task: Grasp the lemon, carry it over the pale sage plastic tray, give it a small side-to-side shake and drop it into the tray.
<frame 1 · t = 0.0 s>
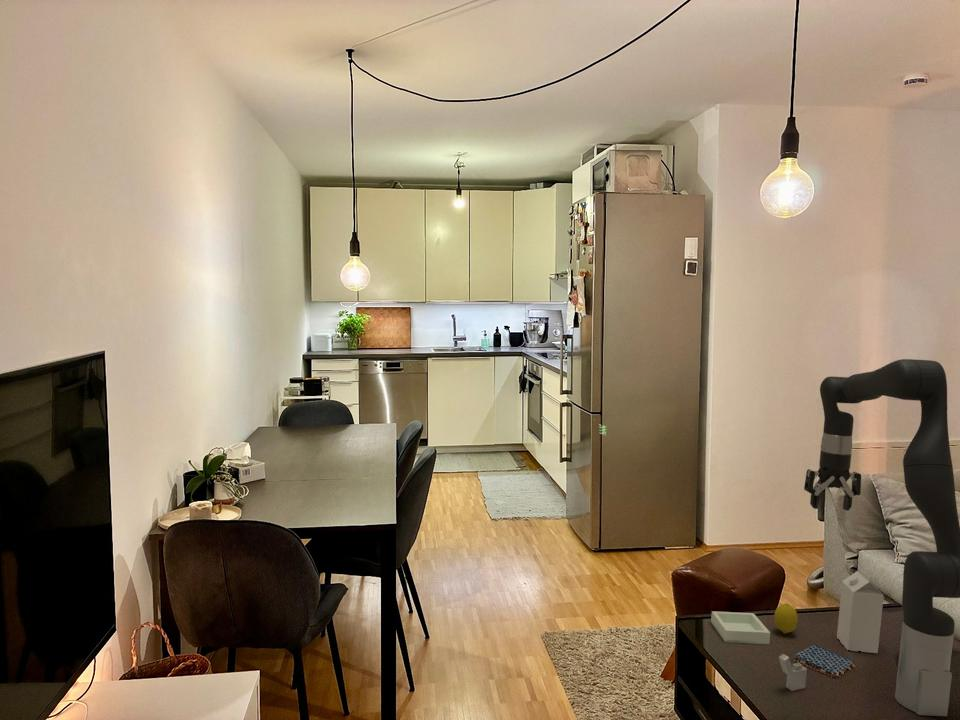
hand: (830, 508, 198), 29 cm above the table, fingers open, 8 cm apart
woven mat: (823, 666, 172), on the table
tray: (739, 633, 185), on the table
lighter: (790, 689, 160), on the table
milk carton: (856, 646, 182), on the table
lemon: (784, 634, 187), on the table
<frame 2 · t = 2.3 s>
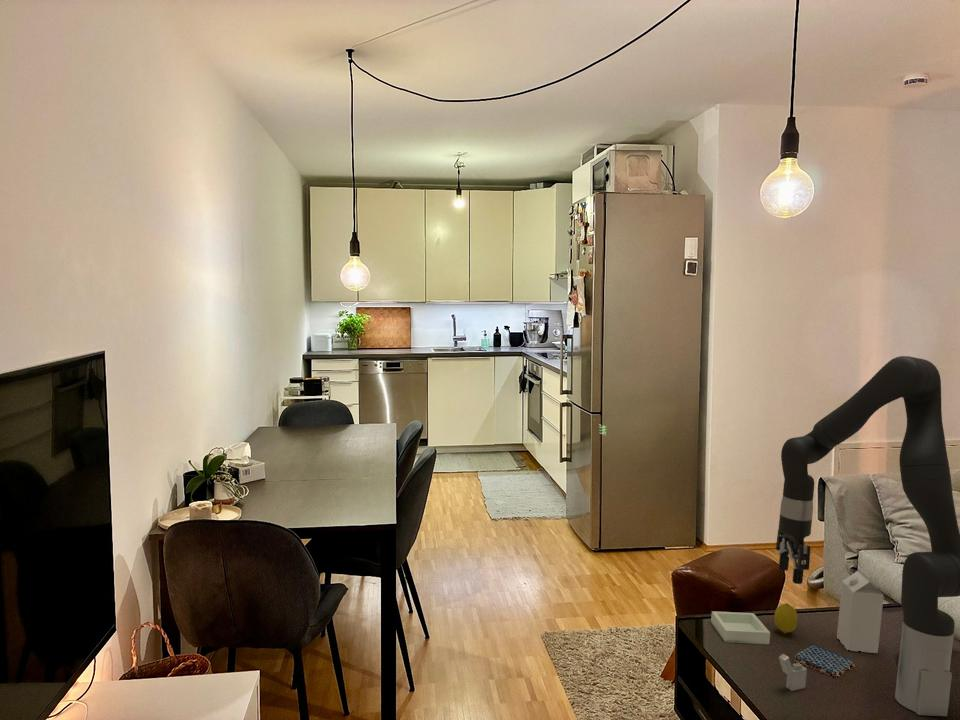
hand: (789, 576, 185), 15 cm above the table, fingers open, 8 cm apart
nothing on the table moved.
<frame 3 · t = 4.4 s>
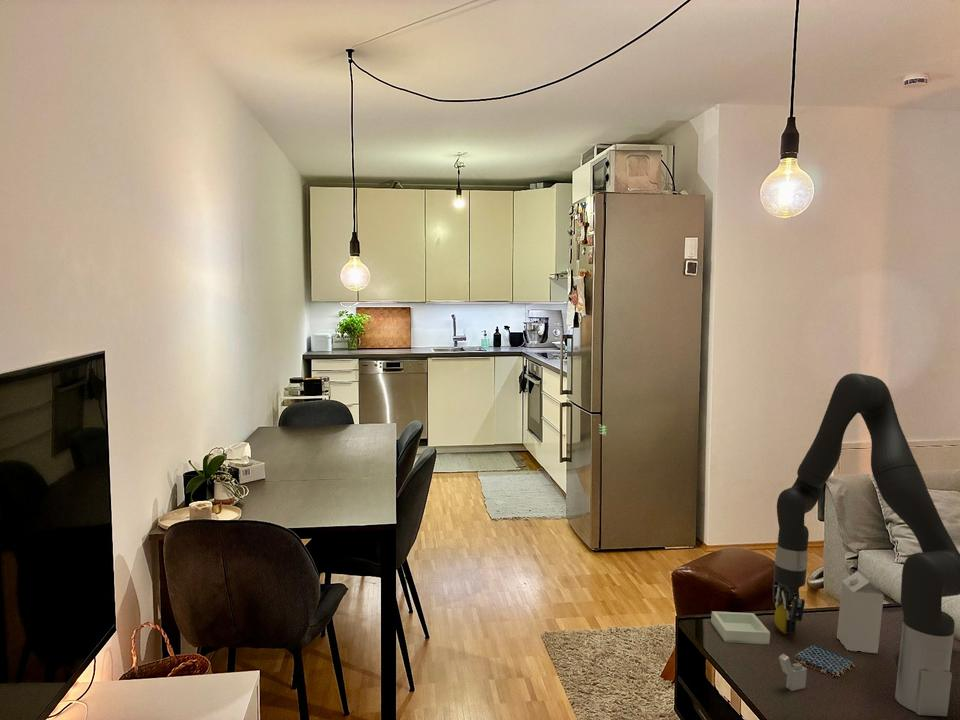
hand: (784, 627, 186), 2 cm above the table, fingers closed on lemon, 5 cm apart
lemon: (784, 634, 187), on the table, touching gripper
everything else where it was.
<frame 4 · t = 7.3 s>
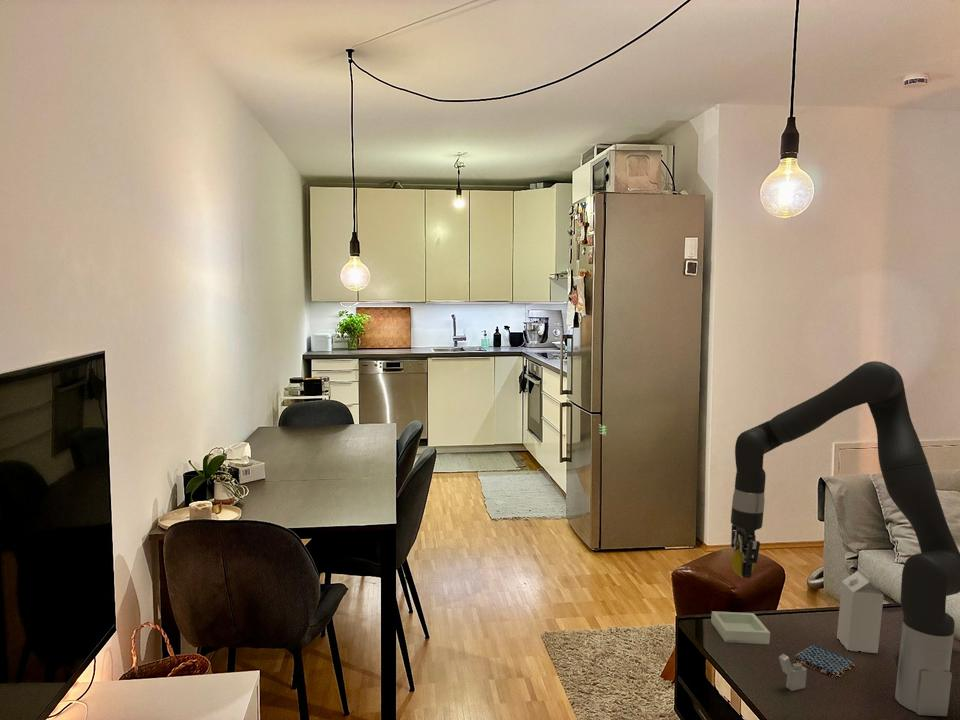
hand: (741, 571, 185), 16 cm above the table, fingers closed on lemon, 5 cm apart
lemon: (741, 578, 185), point 14 cm above the table, touching gripper
everything else where it was.
when the fingers open (4 cm above the table, at t = 10.5 s): lemon drops 2 cm, resting on tray.
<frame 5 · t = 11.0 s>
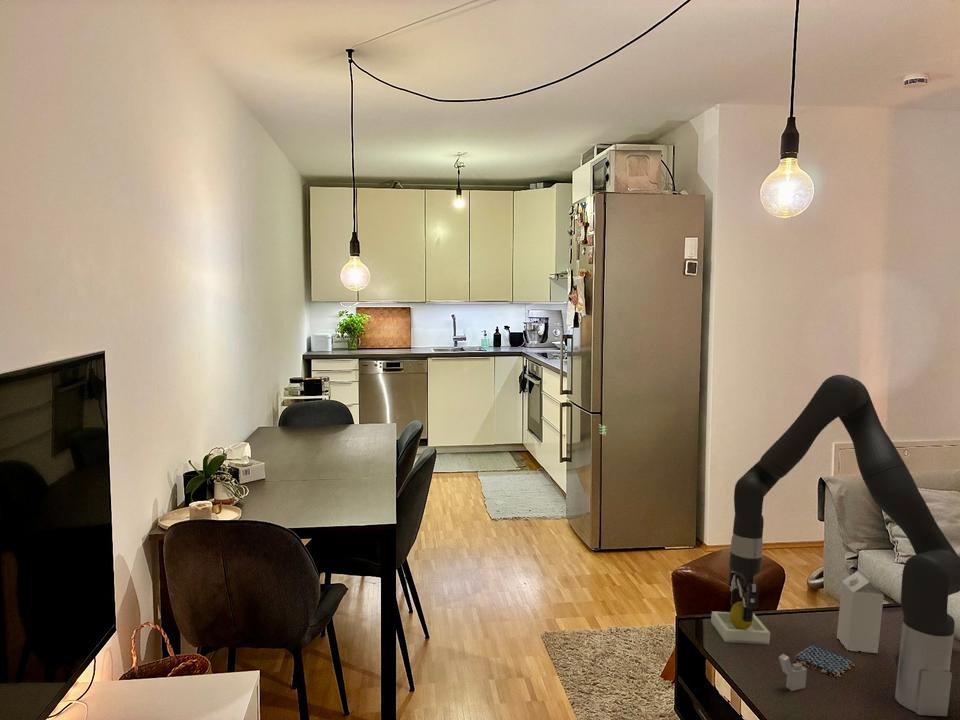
hand: (740, 613, 185), 5 cm above the table, fingers open, 8 cm apart
lemon: (740, 632, 185), resting on tray
everything else where it was.
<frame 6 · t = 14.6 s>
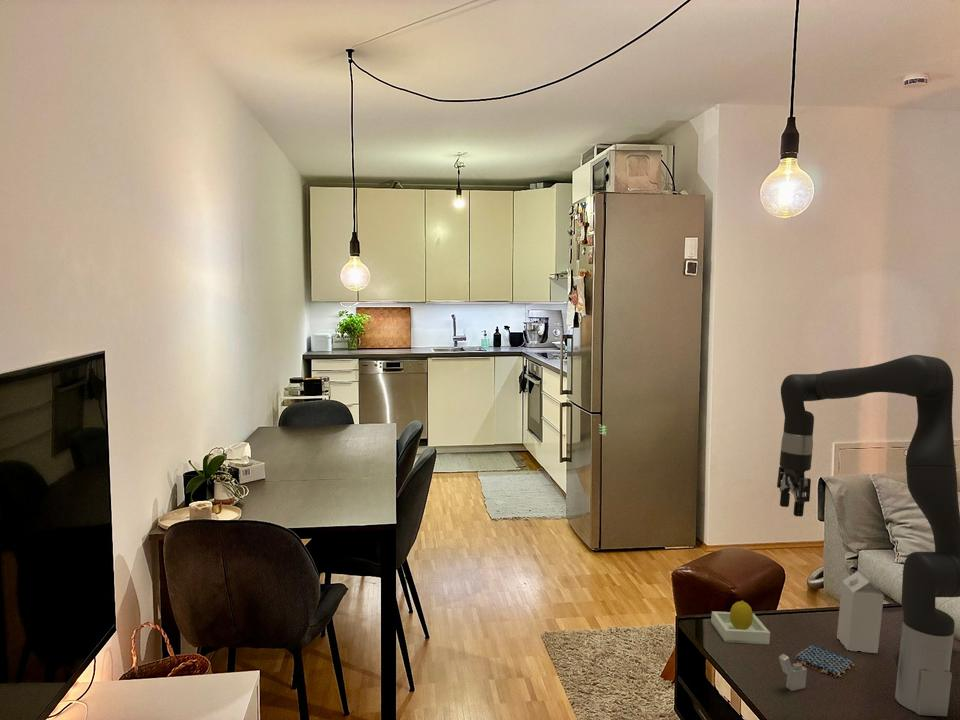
hand: (790, 511, 191), 30 cm above the table, fingers open, 8 cm apart
nothing on the table moved.
at the end: lemon inside the target area on the tray (0.3 cm from its centre), point 0.4 cm above the tray's base; the gripper is holding nothing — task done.
